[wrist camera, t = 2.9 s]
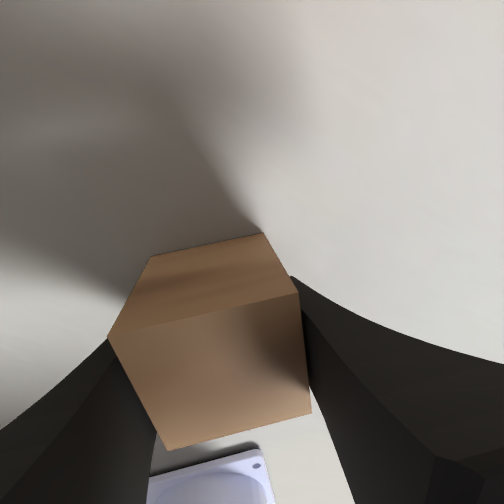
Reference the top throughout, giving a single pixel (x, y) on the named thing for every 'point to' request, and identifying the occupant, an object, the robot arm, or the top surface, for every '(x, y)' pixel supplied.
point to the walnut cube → (214, 341)
